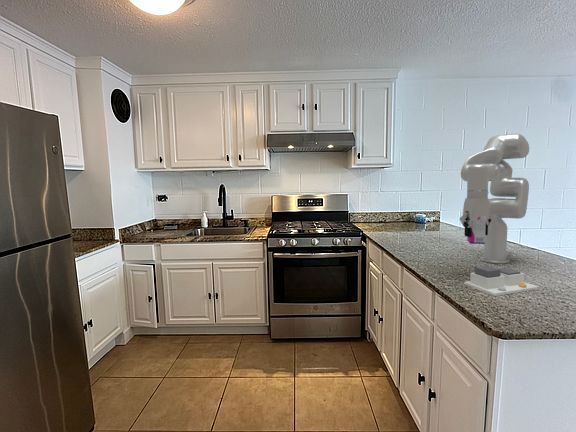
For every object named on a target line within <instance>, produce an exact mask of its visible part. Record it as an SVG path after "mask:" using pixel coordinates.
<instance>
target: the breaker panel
mask: <svg viewBox="0 0 576 432" xmlns="http://www.w3.org/2000/svg"><path fill="white" fill-rule="evenodd" d="M519 272H520V274H514V275H506V274H503V273H500V276H499V277H492V278H486V277H483V276H480V275H477V274H475V271H474V272H470V280H467V281H464V285H465V286H468V287H469V288H473V289H476V290H478V291H481V292H483V293H486V294H488V295H491V296H492V297H498V296H504V295H511V294H515V293H523V292H529V291H535V290H539V289H540V286H539V285H535V284H531V283H528V282H526V281H525V278H526V277H525V276H526V274H525V272H521V271H519Z"/></svg>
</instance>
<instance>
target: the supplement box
mask: <svg viewBox="0 0 576 432" xmlns="http://www.w3.org/2000/svg"><path fill="white" fill-rule="evenodd" d="M469 220H470V219H469ZM468 224H469V222H468ZM485 225H486V217H485V216H483V217H478V219H477V221H476V222H473V223H472V225H471V227H470V228H472V237H466V241H467V242H468V243H469V244H471V245H472V244H474V245H477V244H478V245H484V244H485Z"/></svg>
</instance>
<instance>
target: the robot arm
mask: <svg viewBox="0 0 576 432" xmlns="http://www.w3.org/2000/svg"><path fill="white" fill-rule="evenodd" d="M529 153H530V144H529V142H528V140H527V138H525V136H523V135H522V134H520V133H508V134H498V135H494V136H492V137H490V138H489V139H488V141H487V143H486V145H485V146H484V148H483V149H482V150H481V151H479V152H477V153H475V154H473V155H471V156H469V157H468V158H467V159H466V160H465V162H463V165H462V167H461V170H460V178H461V179H462V181H464V182H466V183H467V184H466V185H467V186H466V187H467V188H466V197H465V198H464V202H463V206H462V207H463V208H462V215H461V216H460V217H459V221H460V223H461V225H462V227H463V228H464V237H466V238H467V237H472V228H470V227H471V225H472V223H473V222H476V221H477V219H478V217H483V216H485V217H486V225H485V244H483V255H481V256H480V257H479V259H480V261H482V262H486V263H490V264H502V265H503V264H508V263H510V262H511V261H510V259H509V258H508V257H512V256H514V253H513V252H512V251H509V252H508V251H507V247H508V246H507V245H508V225H507V223H506V222H505V220H504V219H516V220H517V219H522V218H524V217H525V216H526V214H527V209H528V200H529V193H530V183H529V180H528V179H527V178H524V177H512V176H513V168H512V166H511V165H510V164H509V163H508V162H507V161H505V160H514V159H515V160H516V159H524V158H526V157H527V156H528V155H529ZM489 182H490V184H489ZM489 185H490V186H489ZM488 189H489V190H488ZM489 192H490V195H491V196H493V197H494V198H489V197H488V196H489ZM497 197H498V198H497ZM469 219H470V220H469ZM468 222H469V224H468Z"/></svg>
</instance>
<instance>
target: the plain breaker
mask: <svg viewBox="0 0 576 432" xmlns="http://www.w3.org/2000/svg"><path fill="white" fill-rule="evenodd" d="M500 269H501V268H497V267H494V266H493V267H492V266H489V265H482V266H480V265H479V266H475V267H474V272H475V274H477V275H480V276H483V277H486V278H492V277H499V276H500V272H501V270H500Z"/></svg>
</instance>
